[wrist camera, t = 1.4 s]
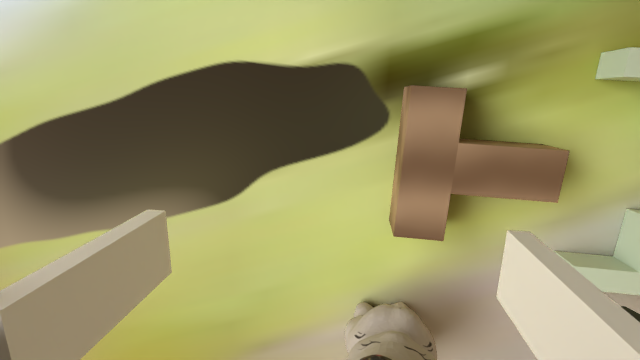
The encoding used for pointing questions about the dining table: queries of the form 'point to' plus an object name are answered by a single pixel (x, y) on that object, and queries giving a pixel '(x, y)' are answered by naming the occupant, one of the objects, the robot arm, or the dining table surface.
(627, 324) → the robot arm
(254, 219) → the dining table surface
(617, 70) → the slot frame
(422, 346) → the figurine
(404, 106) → the t block
